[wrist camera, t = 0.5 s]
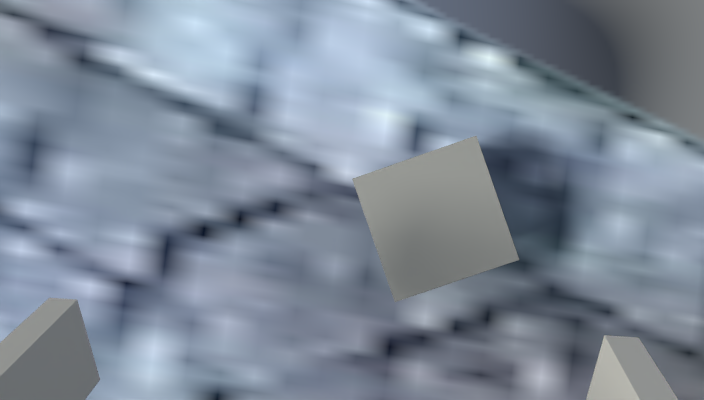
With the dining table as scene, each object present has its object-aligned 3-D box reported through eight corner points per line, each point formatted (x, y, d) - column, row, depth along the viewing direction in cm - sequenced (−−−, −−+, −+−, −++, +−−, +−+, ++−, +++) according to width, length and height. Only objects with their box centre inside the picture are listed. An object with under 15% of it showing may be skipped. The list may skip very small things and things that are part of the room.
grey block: (486, 246, 28) (519, 259, 22) (388, 279, 28) (394, 302, 22) (452, 148, 28) (476, 135, 22) (355, 182, 28) (352, 178, 22)
